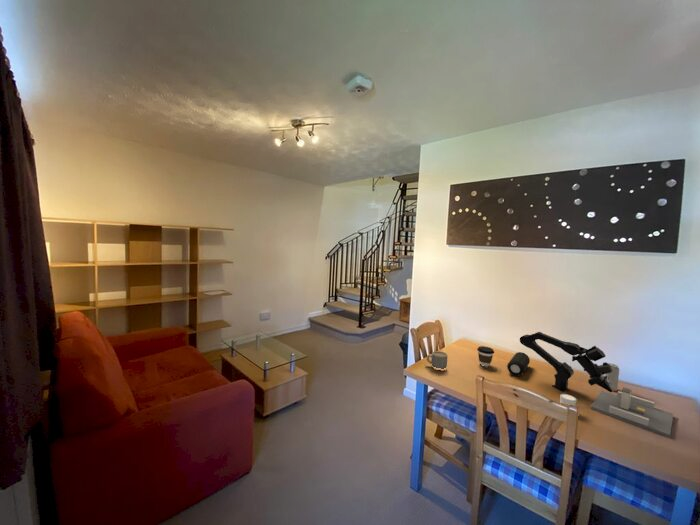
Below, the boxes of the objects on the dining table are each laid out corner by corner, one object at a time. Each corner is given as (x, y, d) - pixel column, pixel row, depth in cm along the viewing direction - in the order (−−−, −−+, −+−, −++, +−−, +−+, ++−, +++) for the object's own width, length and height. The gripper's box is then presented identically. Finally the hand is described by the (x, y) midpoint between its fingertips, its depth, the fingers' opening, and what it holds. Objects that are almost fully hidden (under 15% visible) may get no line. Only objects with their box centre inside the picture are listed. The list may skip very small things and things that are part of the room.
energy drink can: (601, 386, 177) (603, 362, 176) (611, 386, 176) (613, 363, 175) (609, 391, 171) (612, 366, 170) (619, 391, 170) (622, 367, 169)
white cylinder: (576, 415, 145) (577, 402, 144) (559, 410, 148) (560, 398, 148) (574, 409, 150) (575, 396, 150) (558, 404, 154) (559, 392, 153)
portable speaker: (514, 362, 208) (515, 349, 208) (529, 367, 202) (530, 353, 201) (505, 374, 189) (506, 359, 188) (523, 379, 183) (524, 364, 182)
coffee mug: (448, 367, 196) (449, 353, 195) (443, 372, 188) (444, 358, 187) (430, 362, 204) (430, 348, 203) (424, 366, 196) (425, 352, 196)
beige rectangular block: (620, 407, 150) (621, 389, 149) (621, 403, 153) (623, 387, 153) (628, 410, 148) (630, 392, 147) (629, 406, 151) (631, 389, 150)
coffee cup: (483, 369, 195) (484, 352, 195) (472, 362, 206) (473, 346, 205) (496, 368, 198) (498, 351, 197) (485, 361, 209) (487, 345, 208)
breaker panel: (590, 408, 151) (591, 400, 151) (601, 393, 168) (602, 385, 168) (669, 437, 129) (670, 428, 129) (673, 416, 146) (674, 408, 146)
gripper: (597, 362, 152) (624, 391, 144) (605, 354, 163) (630, 380, 156) (578, 371, 158) (602, 399, 150) (586, 363, 170) (609, 388, 162)
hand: (611, 391), depth 154 cm, fingers closed
